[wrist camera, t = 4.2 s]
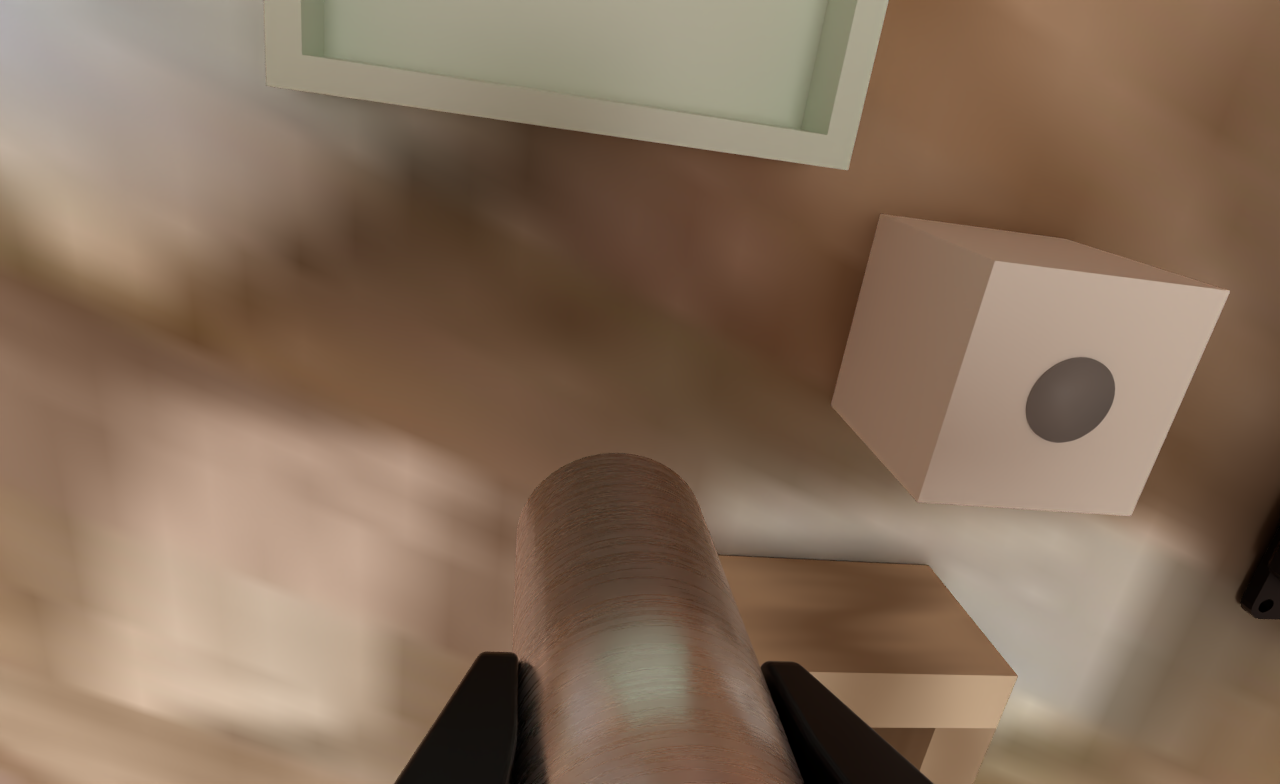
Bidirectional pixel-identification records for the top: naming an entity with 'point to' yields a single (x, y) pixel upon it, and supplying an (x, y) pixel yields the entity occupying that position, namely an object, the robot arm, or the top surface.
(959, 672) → the wooden square frame
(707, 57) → the tray
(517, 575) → the pin
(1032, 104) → the top surface
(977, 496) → the cream block
